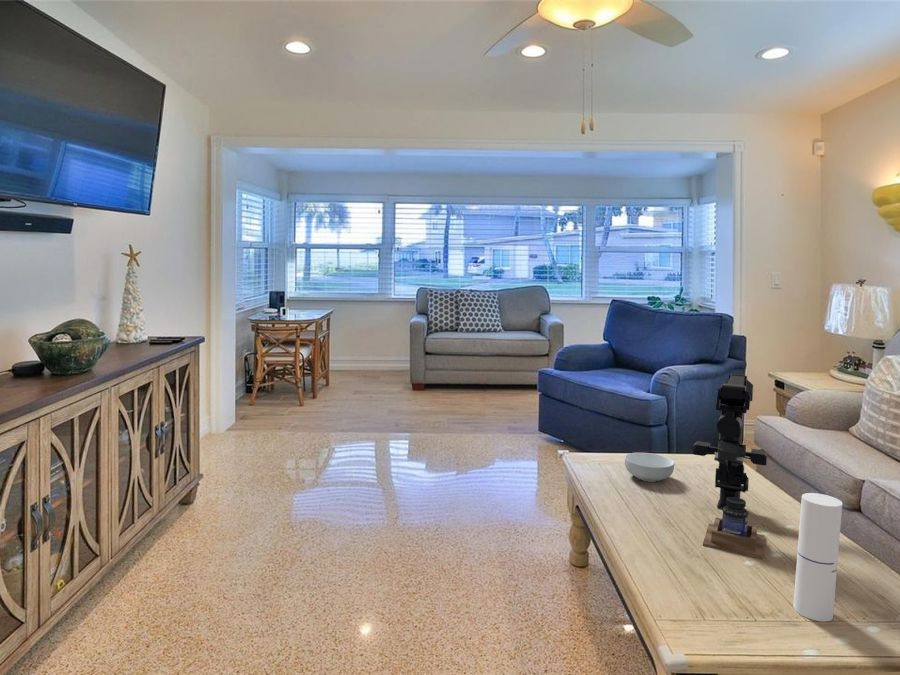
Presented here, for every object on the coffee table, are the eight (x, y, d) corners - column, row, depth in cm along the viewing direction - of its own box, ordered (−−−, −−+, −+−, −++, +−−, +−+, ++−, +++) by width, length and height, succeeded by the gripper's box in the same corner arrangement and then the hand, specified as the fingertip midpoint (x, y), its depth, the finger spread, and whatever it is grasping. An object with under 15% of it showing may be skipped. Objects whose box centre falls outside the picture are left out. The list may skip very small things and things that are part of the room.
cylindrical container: (785, 602, 122) (793, 493, 120) (816, 601, 123) (824, 492, 120) (809, 622, 115) (818, 506, 113) (841, 620, 116) (851, 505, 113)
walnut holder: (708, 525, 160) (709, 513, 160) (764, 537, 153) (765, 524, 153) (702, 545, 148) (703, 532, 148) (762, 559, 141) (763, 545, 141)
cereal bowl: (681, 487, 190) (682, 467, 189) (632, 486, 190) (633, 466, 190) (663, 470, 207) (663, 451, 206) (618, 469, 207) (619, 451, 206)
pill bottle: (749, 545, 147) (752, 505, 146) (724, 543, 148) (727, 503, 147) (742, 535, 153) (744, 496, 152) (718, 532, 154) (720, 494, 153)
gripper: (691, 430, 156) (688, 484, 157) (767, 440, 146) (763, 497, 148) (696, 422, 165) (694, 472, 167) (768, 431, 156) (765, 484, 157)
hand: (727, 481), depth 160 cm, fingers closed
